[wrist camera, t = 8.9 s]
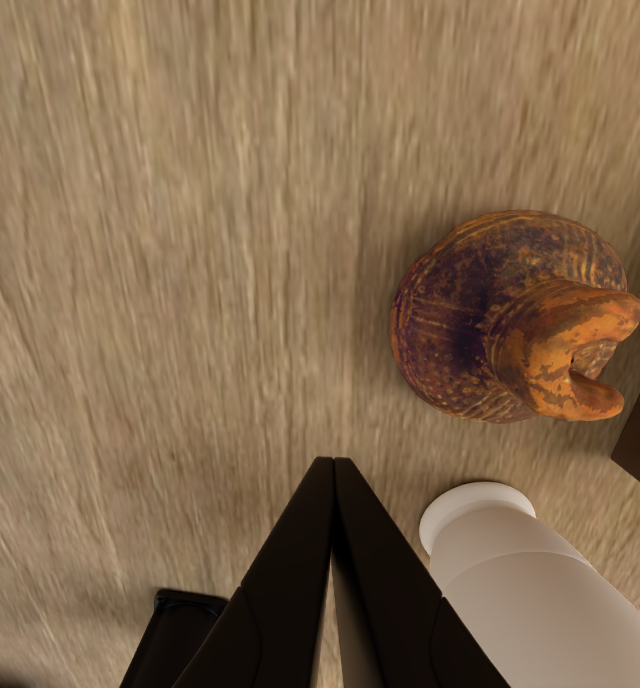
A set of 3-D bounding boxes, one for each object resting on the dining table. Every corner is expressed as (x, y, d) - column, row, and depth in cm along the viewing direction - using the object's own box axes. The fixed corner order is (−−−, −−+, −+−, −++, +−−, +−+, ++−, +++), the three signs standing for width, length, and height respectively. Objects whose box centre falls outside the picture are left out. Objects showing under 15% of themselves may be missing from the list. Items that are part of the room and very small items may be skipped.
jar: (437, 451, 20) (683, 933, 6) (573, 485, 21) (1061, 981, 7) (385, 554, 24) (467, 1008, 10) (502, 580, 25) (734, 1035, 11)
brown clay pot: (423, 187, 15) (505, 147, 8) (643, 240, 16) (893, 244, 9) (362, 389, 19) (383, 477, 12) (540, 424, 20) (655, 527, 13)
